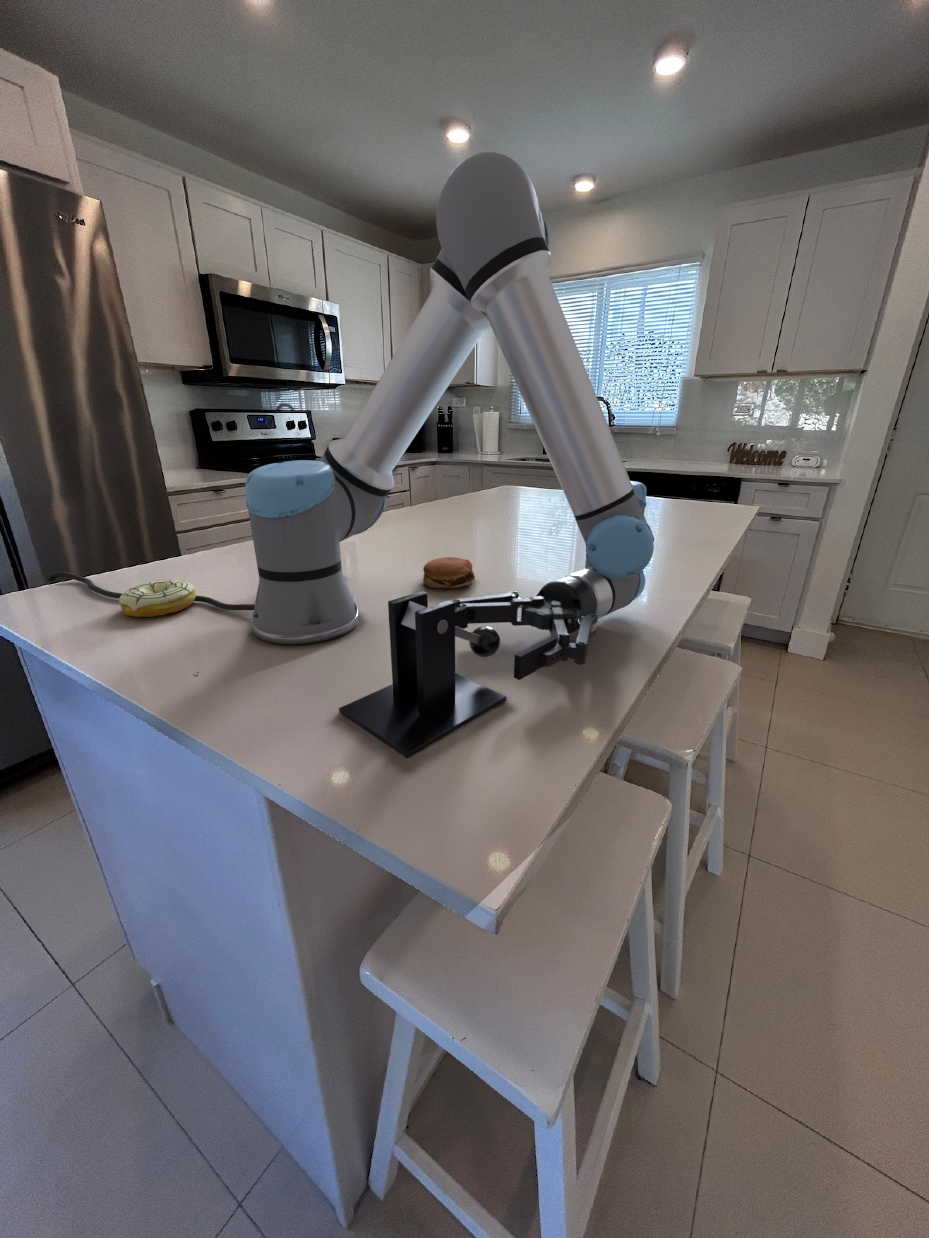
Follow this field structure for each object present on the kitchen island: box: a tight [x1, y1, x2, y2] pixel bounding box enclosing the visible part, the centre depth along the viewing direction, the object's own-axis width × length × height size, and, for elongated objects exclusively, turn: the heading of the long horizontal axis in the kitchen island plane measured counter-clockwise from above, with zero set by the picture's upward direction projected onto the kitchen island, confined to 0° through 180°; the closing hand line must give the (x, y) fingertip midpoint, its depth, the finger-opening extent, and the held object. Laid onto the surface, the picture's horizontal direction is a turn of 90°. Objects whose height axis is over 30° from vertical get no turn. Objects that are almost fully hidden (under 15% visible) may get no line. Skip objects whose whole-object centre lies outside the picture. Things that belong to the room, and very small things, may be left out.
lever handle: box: [401, 602, 501, 658], centre depth 55 cm, size 14×4×4 cm, turn 136°
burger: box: [422, 556, 476, 589], centre depth 96 cm, size 10×9×5 cm
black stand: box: [338, 590, 507, 759], centre depth 52 cm, size 14×11×13 cm
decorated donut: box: [118, 578, 197, 618], centre depth 83 cm, size 10×11×4 cm
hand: (469, 647), depth 57 cm, fingers open, 13 cm apart
